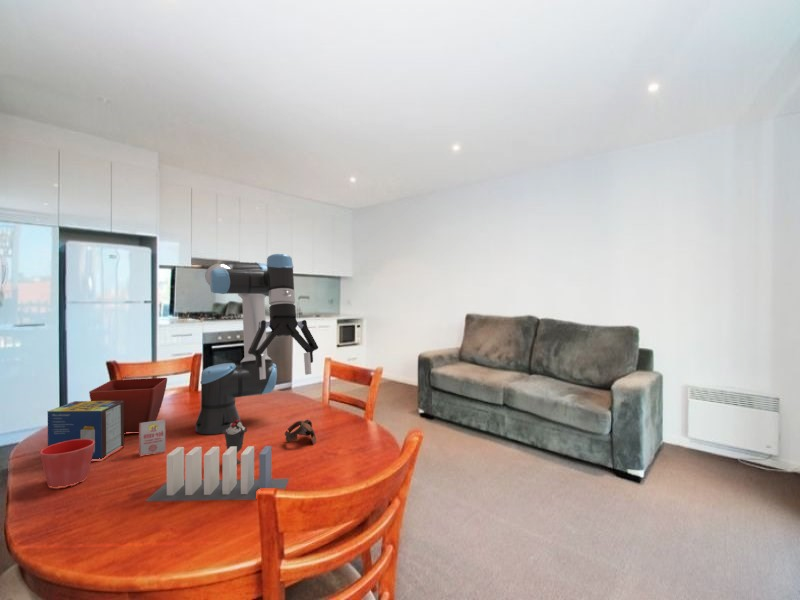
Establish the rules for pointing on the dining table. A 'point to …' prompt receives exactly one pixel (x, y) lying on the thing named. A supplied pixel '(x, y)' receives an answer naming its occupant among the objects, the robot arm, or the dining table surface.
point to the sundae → (235, 435)
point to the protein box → (89, 425)
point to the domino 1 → (175, 470)
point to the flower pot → (67, 461)
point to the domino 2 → (193, 470)
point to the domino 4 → (229, 470)
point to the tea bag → (152, 437)
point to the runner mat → (214, 492)
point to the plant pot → (134, 399)
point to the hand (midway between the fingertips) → (286, 376)
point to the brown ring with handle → (300, 431)
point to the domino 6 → (265, 467)
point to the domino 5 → (247, 469)
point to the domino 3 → (211, 470)
